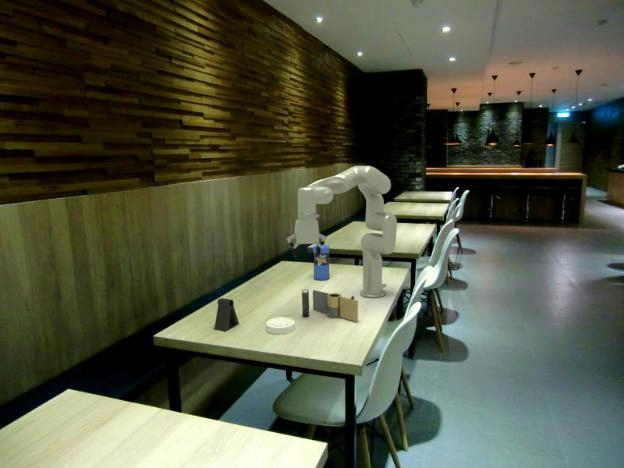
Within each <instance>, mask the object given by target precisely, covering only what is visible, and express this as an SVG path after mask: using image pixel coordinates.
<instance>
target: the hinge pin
mask: <svg viewBox="0 0 624 468" xmlns="http://www.w3.org/2000/svg"><path fill="white" fill-rule="evenodd" d="M309 293H310V291H309V289H308V288H306V289H305V288H304V289H303V288H302V289H301V306H302V308H301V311H302V314H301V315H302V318H305V319H306V318H309V317H310V294H309Z"/></svg>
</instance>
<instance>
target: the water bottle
mask: <svg viewBox="0 0 624 468" xmlns="http://www.w3.org/2000/svg"><path fill="white" fill-rule="evenodd" d="M321 241H322V238H321V237H319V243H320V242H321ZM316 247H317V245H316V244H314V245H313V246H312V253H313V280H314V281H318V282H325V281H329V280H330V260H329V256H330V246H329V245H327V244H326V243H324V244H323V245H322V247H321V254H320V256H319V257H317V256H316Z"/></svg>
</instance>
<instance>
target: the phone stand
mask: <svg viewBox="0 0 624 468" xmlns="http://www.w3.org/2000/svg"><path fill="white" fill-rule="evenodd" d="M234 304H235V303H234V300H233V299H230V298H229V299H228V298H222V297H221V298H218V300H217V310H216V316H215V322H214V328H213V329H214V330H218V331H221V332H228V331H229V330H231V329H234V328H235V327H237V326H239V325H240V321H239V319H238V315H237V312H236V309H235V305H234Z"/></svg>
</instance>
